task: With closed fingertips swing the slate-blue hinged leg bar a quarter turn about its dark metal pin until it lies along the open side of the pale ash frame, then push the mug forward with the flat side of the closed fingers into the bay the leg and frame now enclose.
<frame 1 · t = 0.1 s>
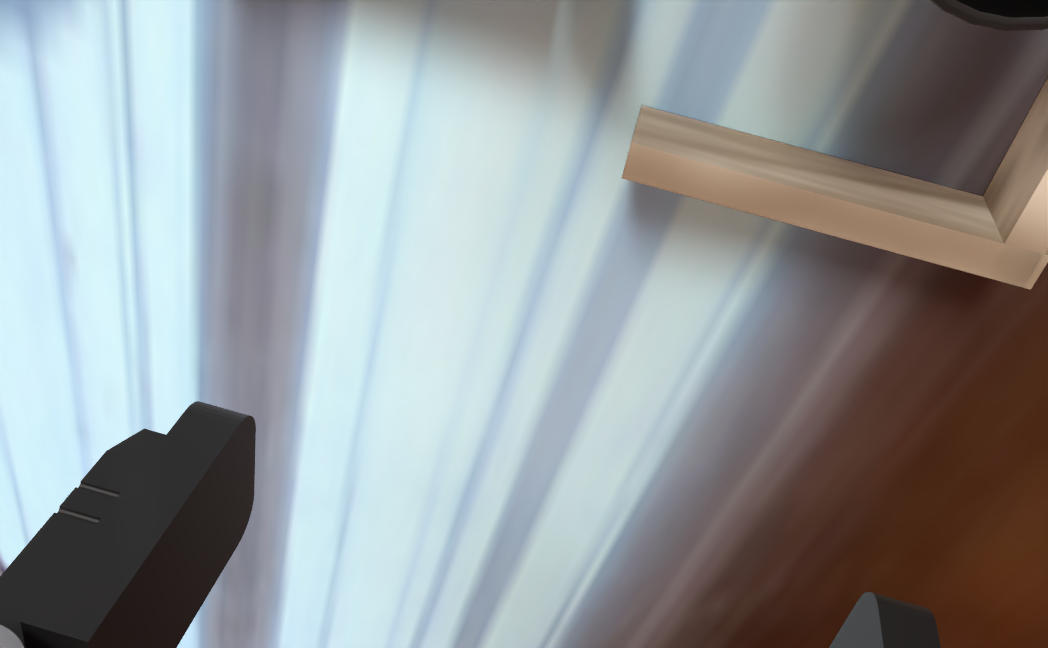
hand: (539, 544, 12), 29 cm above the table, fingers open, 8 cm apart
seat frame: (896, 4, 35), on the table
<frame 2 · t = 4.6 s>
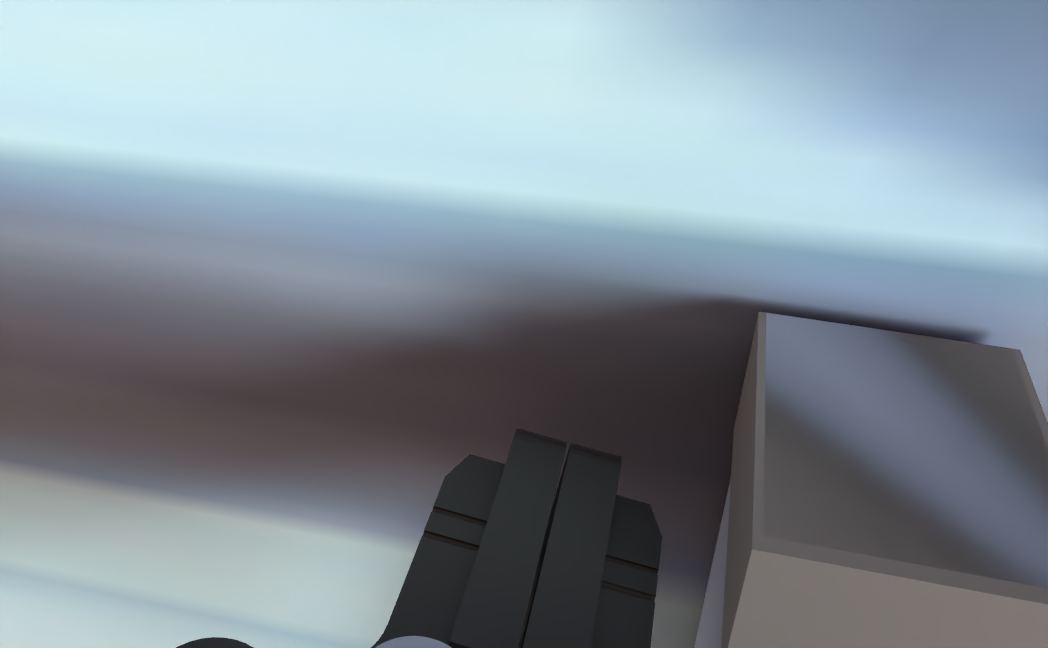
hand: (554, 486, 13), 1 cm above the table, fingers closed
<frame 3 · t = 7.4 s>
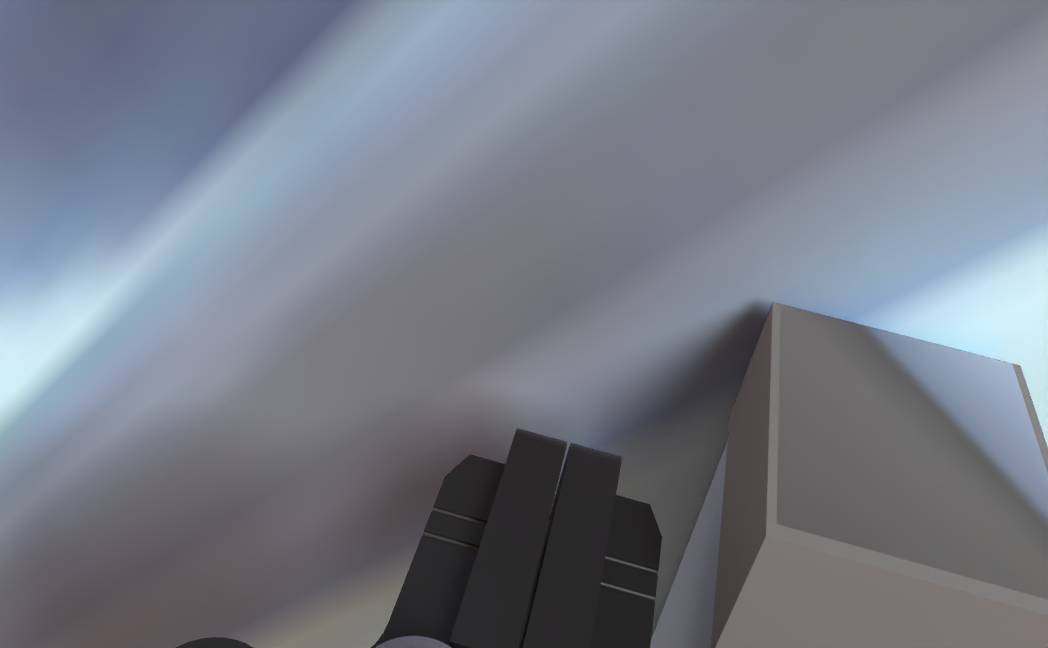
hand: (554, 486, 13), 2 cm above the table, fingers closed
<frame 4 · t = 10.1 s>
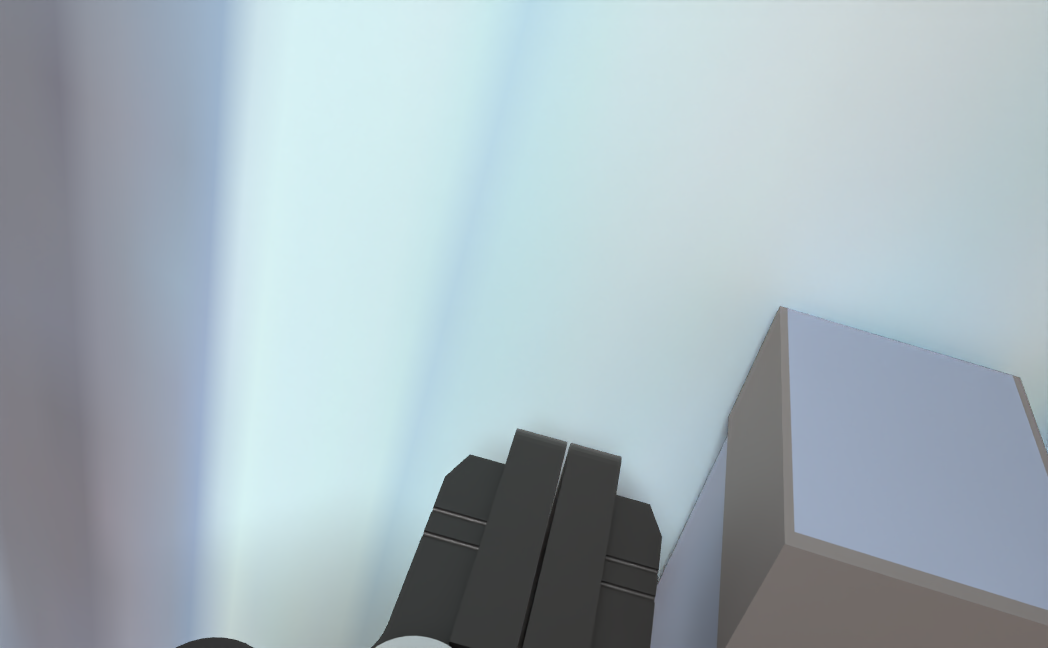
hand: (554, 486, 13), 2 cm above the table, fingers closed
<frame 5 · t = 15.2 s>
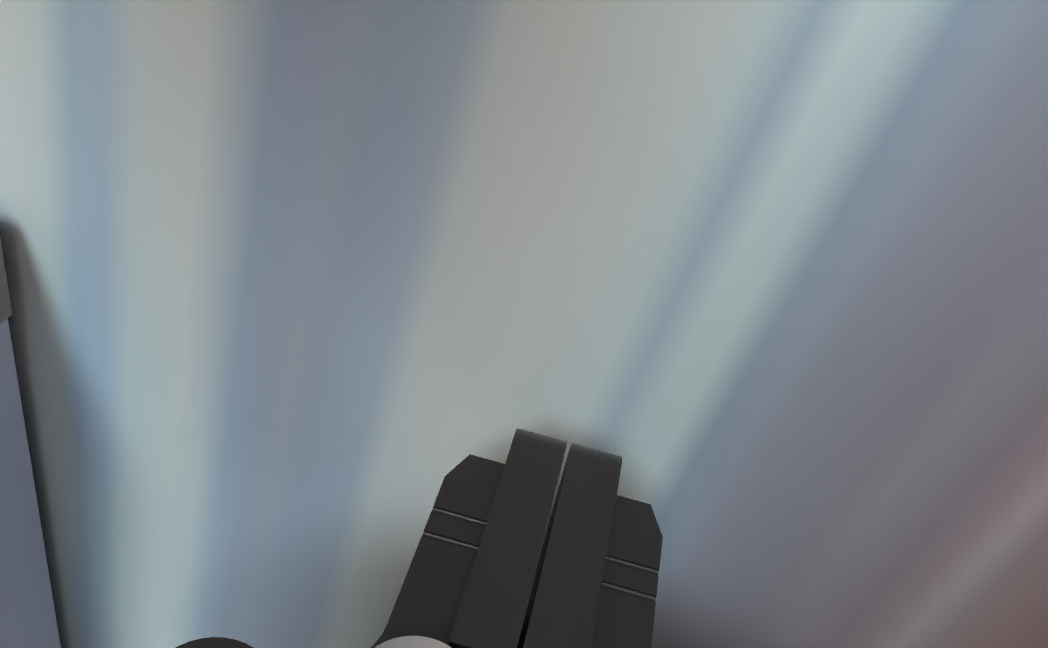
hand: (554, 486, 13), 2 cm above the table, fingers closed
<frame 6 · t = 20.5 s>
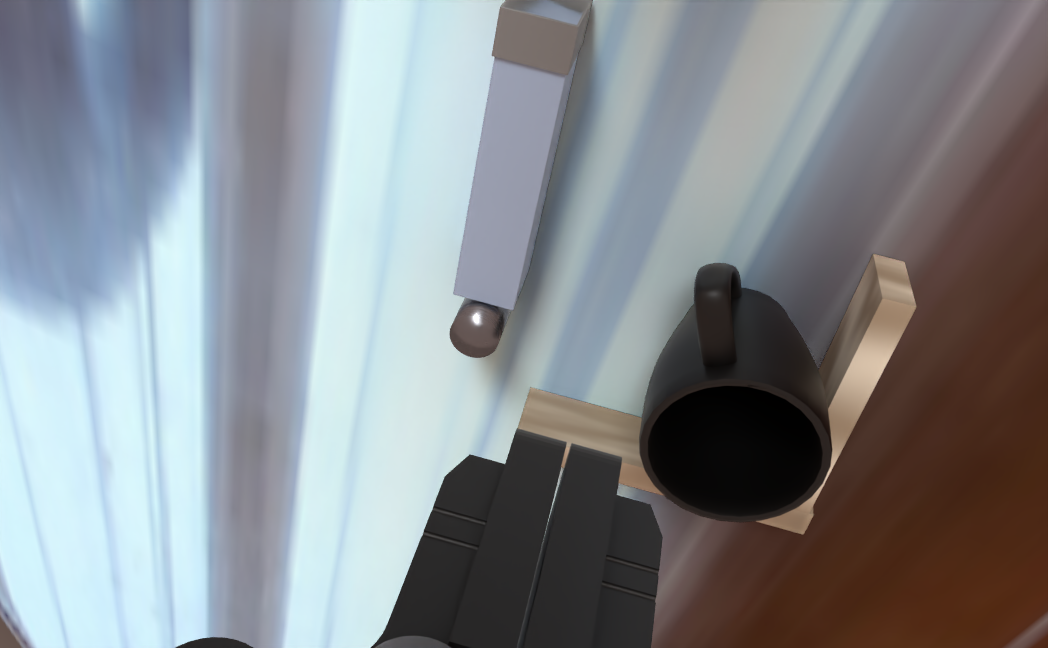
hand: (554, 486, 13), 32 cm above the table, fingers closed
seat frame: (701, 336, 49), on the table
leg: (517, 155, 43), point 2 cm above the table, hinge at 90.3°
mug: (733, 299, 48), on the table
hinge post: (497, 282, 50), on the table
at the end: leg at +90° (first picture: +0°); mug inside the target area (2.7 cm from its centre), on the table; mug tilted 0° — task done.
